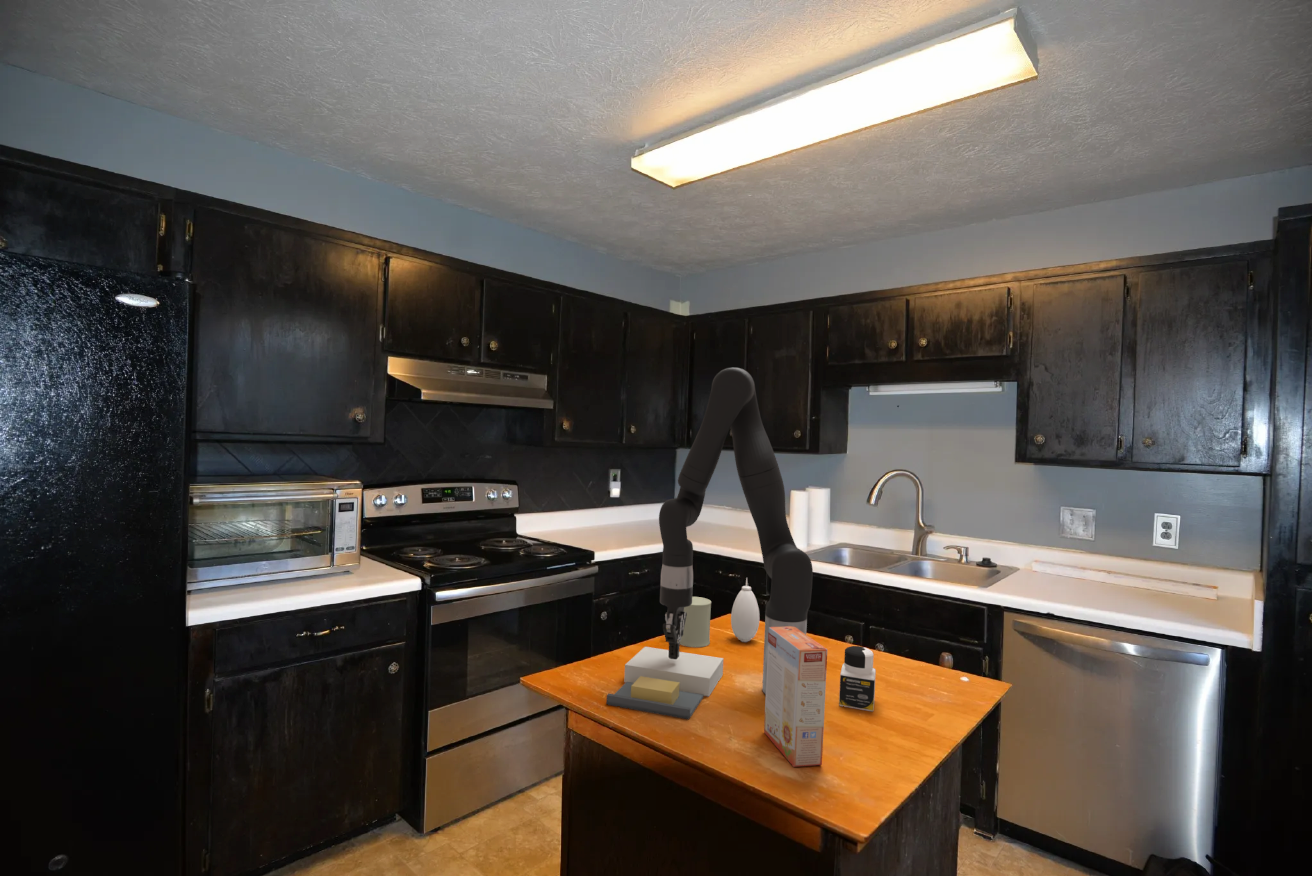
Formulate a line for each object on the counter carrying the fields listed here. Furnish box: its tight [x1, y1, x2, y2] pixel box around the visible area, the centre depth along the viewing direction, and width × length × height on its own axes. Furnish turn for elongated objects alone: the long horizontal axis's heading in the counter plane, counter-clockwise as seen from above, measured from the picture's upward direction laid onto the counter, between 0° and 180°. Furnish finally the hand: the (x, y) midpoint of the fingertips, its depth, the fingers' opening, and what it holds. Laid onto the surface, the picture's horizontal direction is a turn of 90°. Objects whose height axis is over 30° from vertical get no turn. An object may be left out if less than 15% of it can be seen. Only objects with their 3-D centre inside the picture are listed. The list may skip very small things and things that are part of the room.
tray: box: [606, 682, 705, 721], centre depth 140 cm, size 18×12×2 cm, turn 72°
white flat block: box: [623, 646, 724, 697], centre depth 153 cm, size 20×14×4 cm
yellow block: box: [631, 676, 680, 705], centre depth 140 cm, size 9×6×3 cm, turn 72°
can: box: [679, 596, 712, 648], centre depth 181 cm, size 9×9×12 cm
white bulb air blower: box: [730, 577, 760, 643], centre depth 183 cm, size 8×8×18 cm
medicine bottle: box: [838, 645, 877, 712], centre depth 143 cm, size 7×7×12 cm
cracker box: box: [763, 626, 828, 768], centre depth 121 cm, size 14×6×21 cm, turn 12°
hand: (673, 657), depth 151 cm, fingers closed
